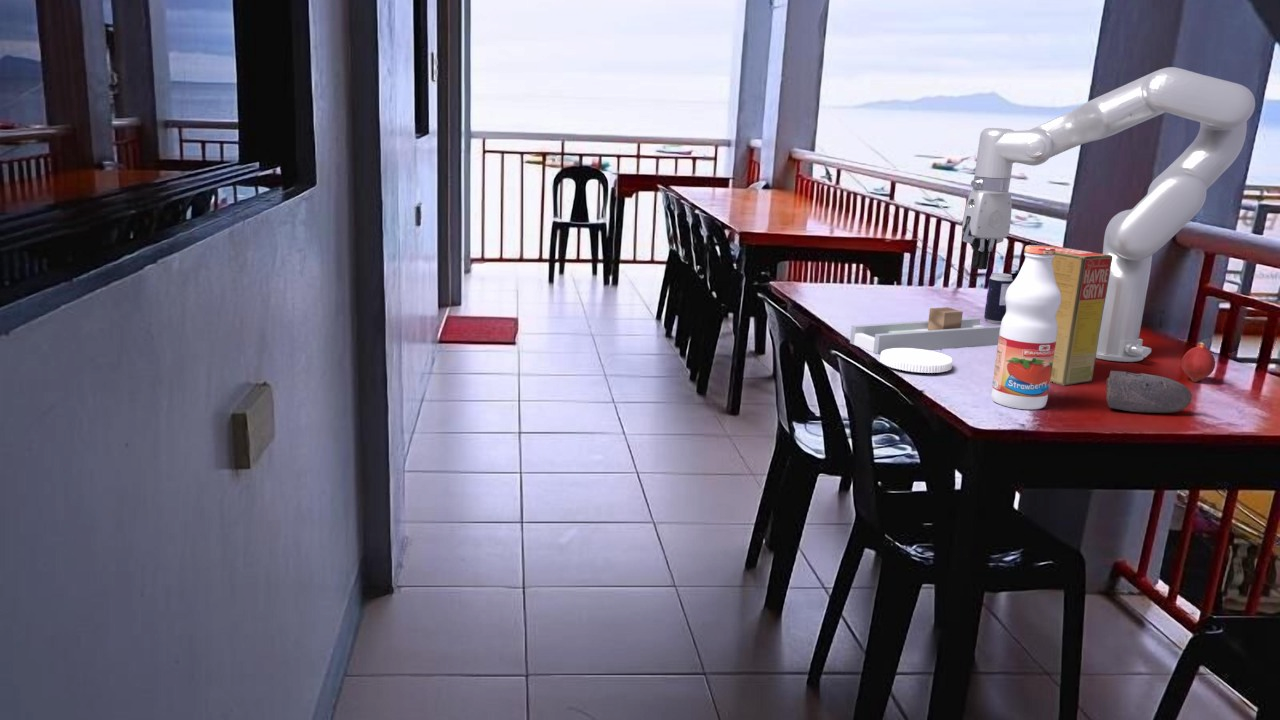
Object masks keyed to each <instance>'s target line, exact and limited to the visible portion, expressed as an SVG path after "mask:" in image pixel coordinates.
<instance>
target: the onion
mask: <svg viewBox="0 0 1280 720" xmlns="http://www.w3.org/2000/svg"><path fill="white" fill-rule="evenodd" d="M1180 365H1181V366H1180V367H1181V369H1182V371H1183V372H1184V373H1185V375H1187V376H1188V377H1189V378H1190V381H1192V382H1200V381H1201V380H1203V379H1206V378H1207V377H1208V376H1210V375H1211V374H1212V373H1213V372H1214V370H1215V367H1216V359H1215V356H1214V355H1213V353H1212V352H1211V351H1210V350H1209V348H1207V347H1206V345H1205V343H1204V342H1199V343H1197V346H1195V347H1192V348H1190V349H1188V350H1187V351H1186V352H1185V354H1184V355H1183V356H1182V359H1181V363H1180Z"/></svg>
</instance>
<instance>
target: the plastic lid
mask: <svg viewBox="0 0 1280 720" xmlns="http://www.w3.org/2000/svg"><path fill="white" fill-rule="evenodd" d="M879 358H880V359H879V361H880V363H881V364H883V365H884V366H887V367H889V368H892V369H896V370H899V371H901V370H902V371H905V372H911V373H921V374H922V373H925V374H926V373H927V374H930V373H931V374H933V373H934V374H935V373H937V374H938V373H945V372H949V371H951V370H952V367H953V360H954V359H953V358H952V357H951V356H950V355H947V354H945V353H941V352H937V351H936V350H935V351H934V350H923V349H914V348H893V349H892V348H891V349H887V350H884V351H882V352H881V354H880V357H879Z"/></svg>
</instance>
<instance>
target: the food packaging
mask: <svg viewBox="0 0 1280 720" xmlns="http://www.w3.org/2000/svg"><path fill="white" fill-rule="evenodd" d="M1048 247H1053V248H1055V255H1054V258H1053V259H1052V266H1053V271H1054V276H1055V280H1056V283H1057V286H1058V288H1059V290H1060V292H1061V297H1062V298H1061V305H1060V308H1059V310H1058V312H1057V314H1056V321H1057V325H1058V330H1057V340H1056V346H1055V352H1054V359H1053V366H1052V372H1051V379H1050V383H1052V382H1053V384H1056V385H1060V386H1062V387H1063V386H1071V385H1075V384H1082V383H1083V384H1084V383H1087V382H1092V381H1093V377H1094V376H1093V375H1094V369H1095V362H1096V359H1097V358H1096V352H1097V346H1098V340H1099V333H1100V327H1101V322H1102V316H1103V310H1104V304H1105V299H1106V293H1107V287H1108V281H1109V275H1110V270H1111V263H1112V259H1113V256H1112V255H1105V254H1103V253H1097V252H1092V251H1087V250H1082V249H1081V250H1079V249H1075V248H1067V247H1062V246H1058V245H1057V246H1056V245H1053V246H1052V245H1049V246H1048Z"/></svg>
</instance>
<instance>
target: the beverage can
mask: <svg viewBox="0 0 1280 720" xmlns="http://www.w3.org/2000/svg"><path fill="white" fill-rule="evenodd" d="M1013 281H1014V279H1013V275H1012V274H1009V273H1002V272H994V273H993V272H992V273H991V275H990V277H989V279H988V283H987V284H988V285H987V290H986V291H987V292H986V301H985V308H984V314H983V315H984V317H983V318H984V319H985V320H986V322H987V323H991V324H999V325H1001V322H1002V319H1003V317H1004V315H1005V313H1006V303H1005V295H1006V291H1007V289H1008V287H1009V286H1010V285H1011V283H1012V282H1013Z"/></svg>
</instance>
